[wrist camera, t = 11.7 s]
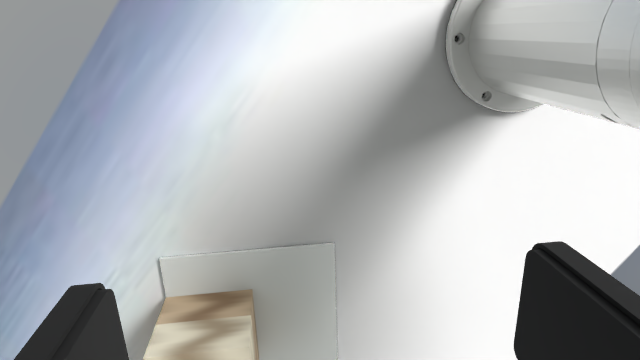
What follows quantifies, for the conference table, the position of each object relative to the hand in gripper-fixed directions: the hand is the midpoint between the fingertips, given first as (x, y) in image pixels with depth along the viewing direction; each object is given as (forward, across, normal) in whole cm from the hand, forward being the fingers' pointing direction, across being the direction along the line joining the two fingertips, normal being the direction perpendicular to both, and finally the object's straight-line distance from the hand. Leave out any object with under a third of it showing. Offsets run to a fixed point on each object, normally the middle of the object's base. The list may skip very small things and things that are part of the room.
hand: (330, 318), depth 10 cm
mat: (+28, +4, +21) cm, 35 cm away
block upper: (+24, +8, +21) cm, 33 cm away
